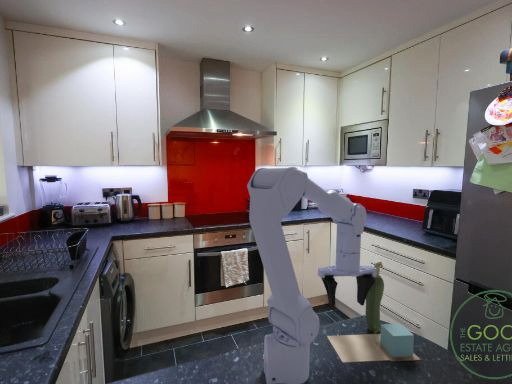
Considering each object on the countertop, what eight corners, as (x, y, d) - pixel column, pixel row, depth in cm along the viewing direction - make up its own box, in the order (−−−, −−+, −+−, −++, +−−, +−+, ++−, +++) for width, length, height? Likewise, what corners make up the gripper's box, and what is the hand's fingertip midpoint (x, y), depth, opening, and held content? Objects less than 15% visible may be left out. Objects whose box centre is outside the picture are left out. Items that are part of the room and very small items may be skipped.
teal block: (392, 357, 61) (393, 336, 61) (380, 343, 66) (381, 324, 66) (412, 356, 62) (413, 335, 61) (399, 343, 67) (400, 323, 66)
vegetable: (361, 330, 74) (363, 259, 73) (371, 327, 76) (374, 257, 75) (374, 339, 70) (377, 264, 69) (385, 335, 72) (388, 261, 71)
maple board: (343, 369, 59) (343, 363, 59) (326, 340, 69) (326, 335, 69) (420, 365, 61) (420, 359, 61) (392, 337, 71) (392, 332, 71)
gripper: (326, 255, 62) (324, 313, 62) (384, 254, 64) (382, 310, 64) (315, 248, 69) (314, 299, 69) (368, 247, 71) (366, 297, 71)
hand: (346, 304), depth 67 cm, fingers open, 7 cm apart
